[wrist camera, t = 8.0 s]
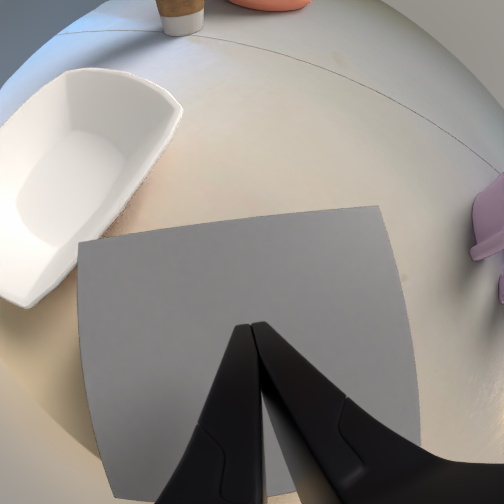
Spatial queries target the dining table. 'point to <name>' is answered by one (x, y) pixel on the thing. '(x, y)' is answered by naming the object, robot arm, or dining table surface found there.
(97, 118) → the bowl
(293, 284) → the box lid
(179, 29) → the coffee cup
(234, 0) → the teapot
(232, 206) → the dining table surface
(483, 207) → the clip
